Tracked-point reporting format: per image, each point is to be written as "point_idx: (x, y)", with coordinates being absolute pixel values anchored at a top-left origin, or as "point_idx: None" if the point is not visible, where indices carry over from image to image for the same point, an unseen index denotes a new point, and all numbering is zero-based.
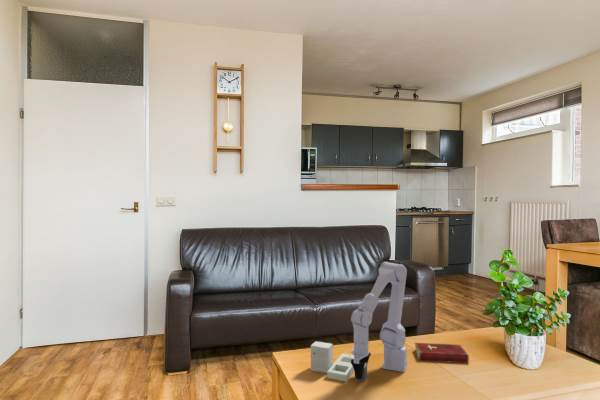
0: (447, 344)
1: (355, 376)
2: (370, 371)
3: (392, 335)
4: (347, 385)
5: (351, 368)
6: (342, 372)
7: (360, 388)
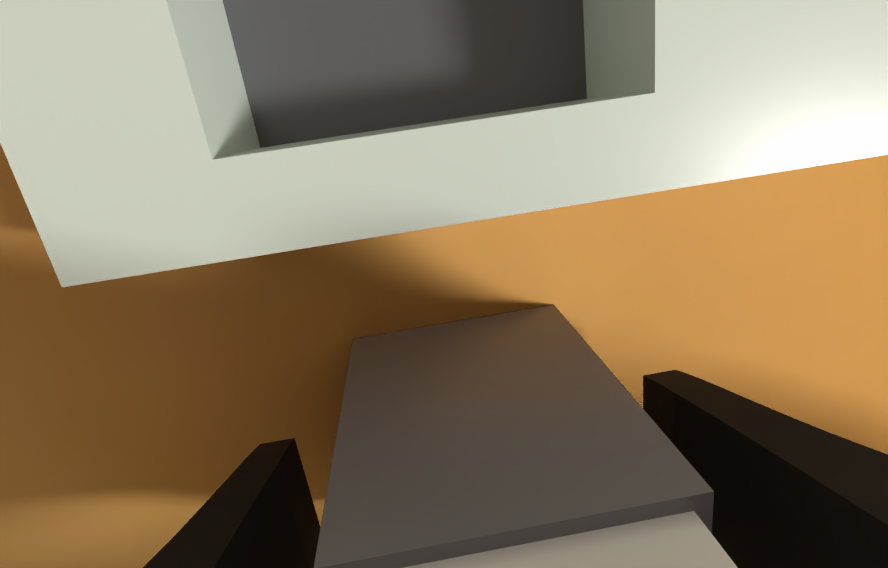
0: None
1: (350, 387)
2: (805, 422)
3: None
4: (25, 328)
5: (596, 198)
6: (140, 86)
7: (114, 546)
